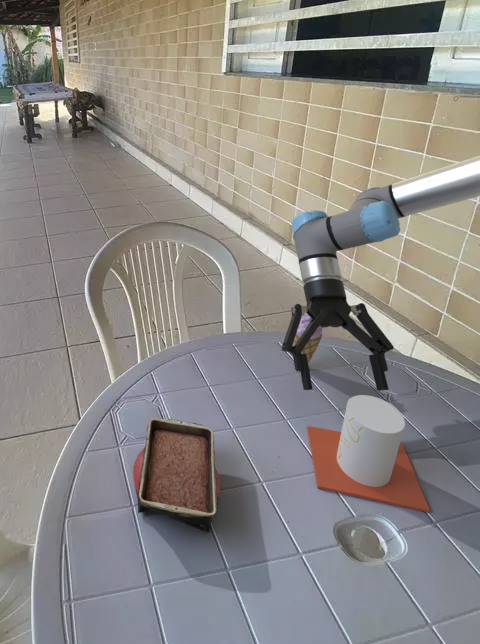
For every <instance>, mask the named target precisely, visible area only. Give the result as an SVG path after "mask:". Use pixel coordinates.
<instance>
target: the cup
mask: <svg viewBox="0 0 480 644" xmlns="http://www.w3.org/2000/svg"><path fill="white" fill-rule="evenodd" d="M405 426H406V420H405V417H404V416H403V414H402V413H401V411H400V410H399V409H398V408H397V407H395V406H394V405H393V404H391V403H390V402H388V401H386V400H384V399H382V398H379V397H377V396H373V395H367V394H358V395H353V396H352V397H350V398H349V399H348V400H347V403H346V408H345V412H344V417H343V422H342V427H341V431H340V432H341V436H340V441H339V446H338V451H337V462H338V464H339V466H340V468H341V469H342V470H343V471H344V472H345V473H346V474H347V475H348V476H349V477H350V478H352V479H353V480H355V481H356V482H358V483H361V484H363V485H366V486H370V487H381V486H384V485H386V484H387V483H388V482H389V481H390V478H391V474H392V470H393V467H394V463H395V459H396V456H397V452H398V448H399V445H400V443H401V440H402V437H403V433H404V429H405Z"/></svg>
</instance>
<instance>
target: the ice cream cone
mask: <svg viewBox="0 0 480 644" xmlns="http://www.w3.org/2000/svg"><path fill="white" fill-rule="evenodd" d="M311 320H312V318H311V317H310V316H309V315H308V314H307V313H306V312H305V314H304V315H303V316H302V317H301V321H300V324H299V327H298V330H297V333H296V336H295V339H294V342H293V346H295V344H296V343H297V341H298V340H299V338H300V337H301V335H302V334H303V332H304V331H305V329H306V328H307V326H308V324H309V323H310V321H311ZM322 337H323V328H322V327H321V326H319V327H318V328H317V329H316V331H315V332H314V334H313V335H312V337H311V338H310V340H309V341H308V343H307V344H306V346H305V347H304V349H303V350H302V352H301V354H306V355H307V361H308V364H309V363H310V362H311V360H312V359H313V356H314V354H315V353H316V351H317V348H318V347H319V344H320V341H321V339H322Z"/></svg>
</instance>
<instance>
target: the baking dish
mask: <svg viewBox="0 0 480 644" xmlns="http://www.w3.org/2000/svg"><path fill="white" fill-rule="evenodd" d="M215 451H216V450H215V435H214V431H213V430H212V429H211V428H210V427H207V426H206V425H203V424H199V423H196V422H189V421H184V420H178V419H172V418H158V417H157V418H156V417H154V418H150V419H149V420H148V421H147V426H146V437H145V444H144V448H142V450H140V452H139V453H138V454H137V456H136V458H135V460H134V463H133V468H132V477H133V483H134V488H135V493H136V498H137V514H140V513H144V512H148V511H153V512H154V513H155V512H156V513H158V514H160V515H163V516H165V517H168V518H170V519H172V520H175V521H177V522H180V523H182V524H185V525H187V526H190V527H192V528H195V529H197V530H200V531H203V532H205V533H211V530H210V528H211V523H212V518H213V516H215V515H216V514H217V512H218V510H219V508H218V506H219V498H220V492H221V480H220V476H219V473H218V470H217V469H216V460H215V459H216V457H215V456H216V452H215Z"/></svg>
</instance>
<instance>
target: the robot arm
mask: <svg viewBox="0 0 480 644" xmlns="http://www.w3.org/2000/svg"><path fill="white" fill-rule="evenodd" d="M478 197H480V155H476V156H473V157H470V158H467V159H465V160H461V161H458V162H455V163H452V164H449V165H446V166H443V167H440V168H436V169H434V170H430V171H427V172H425V173H422V174H419V175H416V176H413V177H410V178H406V179H403V180H400V181H397V182H394V183H391V184H388V185H385V186H382V187H381V186H372V187H368V188H367V189H364V191H362V192H360V194H358V195H357V197H356V198H355V200H354V201H353V203H352V204H351V206H350V208H349V209H348V210H346V211H343V212H339V213H336V214H334V215H330V216H328V214H327V213H326V212H325V211H323V210H318V209H317V210H316V209H315V210H311V211H303V212H300V213H298V214H297V215H295V216H294V217H293V219H292V221H291V227H292V239H293V242H294V245H295V250H296V255H297V260H298V266H299V271H300V276H301V282H302V283H303V292H304V299H305V302H306V305H301V303H296V304H294V305H292V306H291V318H290V321H289V324H288V327H287V330H286V333H285V336H284V339H283V342H282V345H281V350H282V352H286V353H289V354H290V355H291V356H292V359H293V365H294V370H295V372H299V373H300V378H301V383H302V388H303V391H311V390H314V389H313V388H314V387H313V383H312V378H311V372H310V367H309V363H308V361H307V355H306V354H301V352H302V350H303V349H304V347H305V346H306V344H307V343H308V341H309V340H310V338H311V337H312V335H313V334H314V332H315V331H316V329H317V328H318V327H319V326H321V327H322V329H323V328H324V329H325V328H329V327H331V328H342V329H344V330H346V331H347V332H348V333H349V334H351V335H352V336H353V337H354V338H355V339H356V340H357V341H358V342H359V343H361V344H362V345H363V346H364V347H365V348H366V349H368V351H370V353H371V354H369V355H368V360H369V362H370V367H371V371H372V375H373V379H374V384H375V387H376V391H389V386H388V382H387V378H386V373H385V372H388V371H389V370H388V369H389V367H388V364H387V359H386V355H385V354H386V353H387V352H389V351H392V350H394V345H393V343H392V342H391V341H390V340H389V339H388V337H387V336H386V335H385V333H384V331H382V329H381V328H380V327H379V325H378V324H377V323H376V322H375V320H374V319H373V318H372V316H371V315H370V314H369V312H368V309H367V306H366V304H364V303H363V302H360V303H358V304H353V305H350V304H349V303H348V301H347V293H346V290H345V285H344V282H343V281H342V280H341V279H342V277H343V276H342V272H341V269H340V263H339V259H338V256H337V252H340V251H343V250H344V251H345V250H347V249H352V248H356V247H360V246H364V245H370V244H375V243H379V242H380V243H381V242H383V241H385V240H388V239H392V238H394V237H397V236H398V235H400V232H401V226H400V225H401V224H400V220H399V219H401V218H406V217H409V216H411V215H416V214H419V213H423V212H428V211H430V210H434V209H438V208H441V207H446V206H449V205H453V204H457V203H461V202H464V201H467V200H472V199H476V198H478ZM305 313H307V314H308V315H309V316H310V317H311V318H312V320H311V321H310V323H309V324H308V326H307V328H306V329H305V331H304V332H303V334H302V335H301V337H300V338H299V340H298V341H297V343H296V344H295V345H294V339H295V336H296V333H297V330H298V327H299V324H300V321H301V317H302V316H303V315H304V314H305ZM351 313H352V315H353V316H355V317H356V318H357V320H358V321H359V323H360V324H361V325H362V327H363V328H364V329H365V330H364V329H363V328H361V327H360V326H359V325H358V324H357V322H356V321H355V320H354V319H353V318H352V317H351V316H350V314H351Z"/></svg>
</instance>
